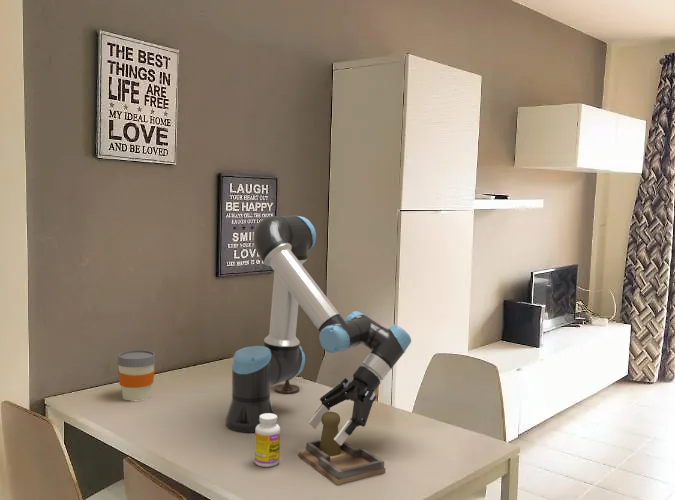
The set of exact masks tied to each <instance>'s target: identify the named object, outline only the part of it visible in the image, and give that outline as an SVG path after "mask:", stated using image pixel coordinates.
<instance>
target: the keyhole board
mask: <svg viewBox="0 0 675 500" xmlns="http://www.w3.org/2000/svg"><path fill="white" fill-rule="evenodd" d="M320 441H321V439H318V440H313V441H309V442H306V447H305V448H306V449H304V450H300V451H298V454H297V455H298V457H299V458H301V460H303V461H304V462H305V463H307V464H308V465H309V466H311V467H312V468H314V469H315V470H316V471H318V472H319V473H321V474H322V475H323V476H324V477H326V478H327V479H328V480H330V481H331V482H332V483H334V484H335V485H336V486H338V485H342V484H346V483H350V482H354V481H358V480H362V479H366V478H370V477H373V476H377V475H381V474H385V473H386V467H385V461H384V460H383V459H382V458H380V457H379V456H376V455H375V454H374V453H372V452H370V451H369V450H367V449H366V448H363V447H360V448H355V446H353V445H350V444H349V443H348V442H346V440H345V441H344V443H343V444H342V445H341V446H340V454H339V455H337V456H329V455H327V454H326V453H324V452H323V451H321V450H320V449H319V447H320Z"/></svg>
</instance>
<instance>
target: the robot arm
mask: <svg viewBox="0 0 675 500" xmlns="http://www.w3.org/2000/svg"><path fill="white" fill-rule="evenodd" d="M252 239H253V240H252V241H253V246H254V249H255V251H256V253H257V255H258V256H259V258H260V259H261V261H262V262H263V264H264V265H265V266H266V267H271V269H272V270H273V284H272V285H273V286H272V294H271V295H272V297H271V310H270V321H269V322H270V323H269V333H268V335H267V336H266V337H265V338H264V339H263V340H264V341H263V345H252V346H245V347H243V348H240V349H237V350H236V351H235V353H234V355H233V358H232V364H231V368H232V369H231V370H232V371H231V372H232V373H231V374H232V375H231V377H232V378H231V379H232V381H231V384H232V385H231V389H232V390H231V402H230V404H229V408H228V410H227V412H226V417H225V426H226V428H228V429H229V430H232V431H234V432H239V433H255V429H256V426H257V425H258V424H260V421H259V418H260V415H261V414H265V413H272V414H275V412H274V408H273V406H272V402H271V386H275V385H276V384H277V385H278V384H281V383H282V382H285V381H288V380H289V381H290V380H292V379H294V378H295V377H297V376H298V375H299V374H301V373H302V371H303V370H304V368H305V364H306V363H305V362H306V355H305V352H304V351H303V347H302V346H301V344H300V342H301V341H300V340H299V338H297V336H296V335H297V324H298V314H299V312H298V311H299V306H300V307H301V309H302V311H304V313H305V315H306V316H307V317H308V318H309V319H310V321H311V322H312V323H313V325H314V326H315V328H317V330H318V332H319V337H318V340H319V344H320V346H321V348H322V349H323V350H324V351H326V352H327V353H330V354H335V353H341V352H344V351H347V350H348V349H351V348H355V347H357V346H361V345H364V346H365V347H366V348H368V349H369V350H371V352H370V353H369V354H368V355H367V356H366V358H364V360H363V361H362V363H361V365H360V366H359V367H358V368H357V369H356V370H355V372H354V373H353V375H352V378H353V379H352V381H349V380H348V379H347V378H344V379H342V381H341V382H340V383H339V384H337V385H335V387H333V388H332V389H330V390H329V391H328V392H326V393H325V394H324V395H322V396H320V398H319V401H320V402H321V405H320V406H319V407H318V409H317V410H316V411H315V412H314V414H313V416H312V417H311V419H310V420H309V421H308V422H307V423H308V424H309V426H311V427H312V428H313V429H314V430H316V428H317V427H318V426H319V424H321V423H322V421H321V418H322V415H323V414H324V413H326V412H330V408H332V407H335V406H336V405H338V404H340V403H342V402H344V401H352V402H353V406H352V414H351V417H350V418H349V419H348V420H347V421H346V423H345V424H344V425H343V426H342V428H341V429H340V430H339V433H338V434H337V436H336V437H335V438H334V440H335V441H336V442H337V443H338V444H339V445H340V446H341V445H342V444H343V443H344V441H345V442H346V440H347V438H349V436H351V435H352V434H353V432H354V431H355V430H356V428H357V427H359V426H360V427H363V428H364V427H365V426H366V424H367V423H368V422H367V421H368V420H369V419H368V418H369V416H370V412H371V409H372V406H373V403H375V400H377V399H376V398H377V397H378V396H377V395H376V394H375V393H374V392H376V390H377V389H378V388H379V386H380V384H381V381H384V380H385V378H386V376H387V375H388V374H389V372H390V371H391V370H392V369H393V367H394V366H395V365H396V364H397V362H398V361H399V360H400V359H401V358H402V356H403V355H404V354H405V352H406V350H407V349H408V347H409V346H410V345H411V343H412V338H411V335H410V334H409V333H408V332H407V331H406V330H405V329H403V328H402V327H401V326H398V325H397V324H393V325H391V326H390V327H389V328H386V327H385V326H382V325H381V324H380V323H378V322H377V321H374V319H372V318H370V317H369V316H368V315H366V314H364V313H362V312H360V311H357V310H354V311H351V313H350V314H348V315H347V317H346V318H345V319H344V318H343V317H342V315H341V314H340V313H339V311H338V310H337V309H336V307H335V306H334V304H332V302H331V301H330V300H329V298H328V297H327V296H326V295H325V293H324V292H323V290H322V289H321V288H320V287H319V285H318V284H317V282H316V281H315V280H314V279H313V277H312V276H311V275H310V274H309V272H308V270H306V268H305V267H304V266H303V264H305V262H306V261H308V255H309V253H308V252H309V251H310V250H312V248H314V246H315V243H316V242H317V241H316V240H317V233H316V228H315V227H314V224H312V222H311V221H310V220H309V219H307V217H304V216H300V215H271V216H266V217H265V218H262V219H261V220H260V221H259V222H258V223H257V225H256V226H255V227H254V230H253V236H252Z"/></svg>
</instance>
